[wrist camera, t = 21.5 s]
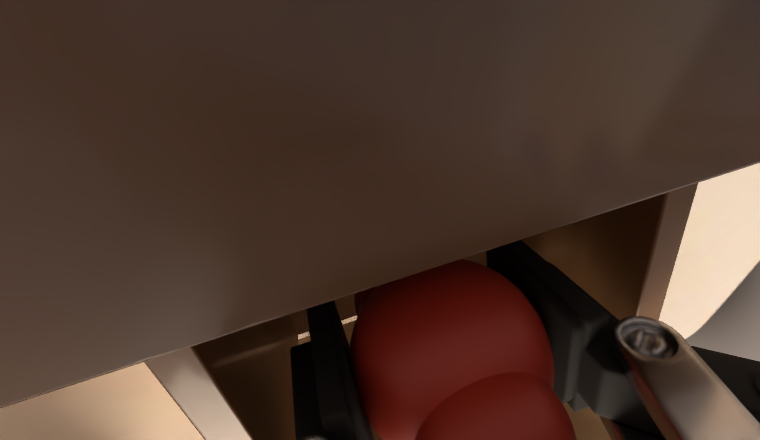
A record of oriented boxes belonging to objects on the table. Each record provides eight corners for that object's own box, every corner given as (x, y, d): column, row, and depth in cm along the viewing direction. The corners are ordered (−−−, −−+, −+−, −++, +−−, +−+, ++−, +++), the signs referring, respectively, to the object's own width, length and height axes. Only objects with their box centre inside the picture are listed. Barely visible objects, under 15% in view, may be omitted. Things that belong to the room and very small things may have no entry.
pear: (301, 318, 11) (339, 662, 5) (404, 189, 10) (607, 437, 4) (417, 364, 13) (535, 635, 7) (510, 264, 12) (737, 489, 6)
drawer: (505, 346, 22) (622, 507, 15) (309, 418, 21) (331, 639, 13) (501, -62, 12) (871, -200, 5) (112, 16, 11) (-284, -9, 3)
